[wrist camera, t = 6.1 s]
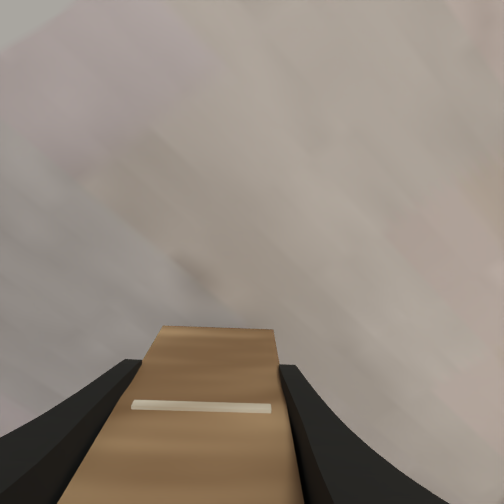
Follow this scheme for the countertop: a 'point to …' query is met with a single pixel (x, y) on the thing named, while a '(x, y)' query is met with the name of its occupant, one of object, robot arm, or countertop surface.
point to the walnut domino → (196, 427)
